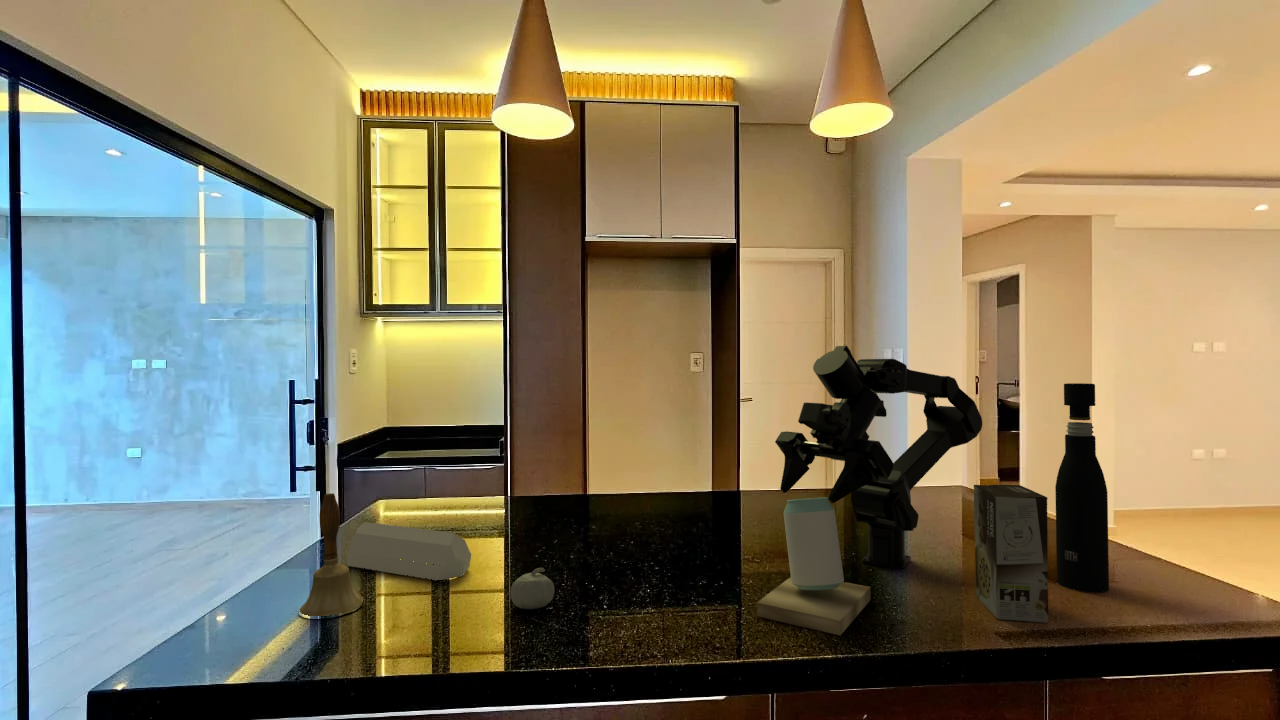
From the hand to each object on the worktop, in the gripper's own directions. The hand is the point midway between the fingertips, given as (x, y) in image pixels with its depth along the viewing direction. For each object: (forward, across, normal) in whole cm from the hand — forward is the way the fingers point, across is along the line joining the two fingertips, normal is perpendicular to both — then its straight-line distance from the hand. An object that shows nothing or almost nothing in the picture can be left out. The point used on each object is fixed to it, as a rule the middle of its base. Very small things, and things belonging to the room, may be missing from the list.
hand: (805, 495), depth 95 cm
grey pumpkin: (+36, -17, -16) cm, 43 cm away
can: (+11, +6, +5) cm, 14 cm away
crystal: (+43, -45, -22) cm, 66 cm away
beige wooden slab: (+14, +6, +6) cm, 17 cm away
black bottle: (-14, +24, +33) cm, 43 cm away
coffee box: (-1, +22, +20) cm, 30 cm away
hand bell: (+52, -33, -32) cm, 70 cm away
